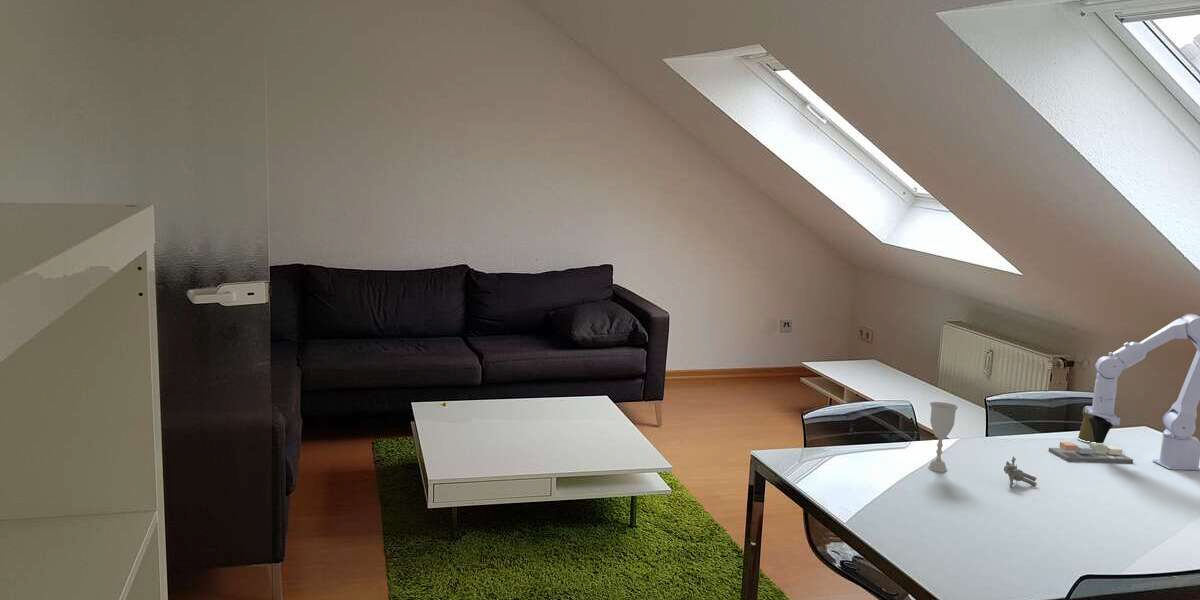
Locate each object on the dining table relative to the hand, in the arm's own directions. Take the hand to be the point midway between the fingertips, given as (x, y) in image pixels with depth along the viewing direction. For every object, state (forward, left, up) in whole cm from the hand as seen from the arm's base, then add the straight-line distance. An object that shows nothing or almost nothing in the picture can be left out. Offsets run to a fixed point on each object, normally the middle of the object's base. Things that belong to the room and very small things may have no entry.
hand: (1098, 442), depth 285 cm
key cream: (-5, 0, -3) cm, 6 cm away
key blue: (+4, 0, -3) cm, 5 cm away
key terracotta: (+9, 0, -2) cm, 9 cm away
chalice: (+55, +16, -5) cm, 58 cm away
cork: (-8, -18, -5) cm, 20 cm away
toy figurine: (+38, +27, -5) cm, 47 cm away
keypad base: (+2, 0, -4) cm, 5 cm away
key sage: (0, 0, -2) cm, 2 cm away
